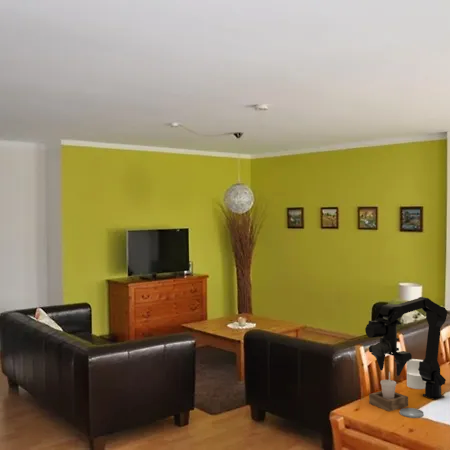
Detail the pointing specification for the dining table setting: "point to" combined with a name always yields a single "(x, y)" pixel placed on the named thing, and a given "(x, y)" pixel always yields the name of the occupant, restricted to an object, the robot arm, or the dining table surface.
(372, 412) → the dining table surface
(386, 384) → the smoothie
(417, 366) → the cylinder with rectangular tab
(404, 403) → the holder
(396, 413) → the dining table surface
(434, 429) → the dining table surface
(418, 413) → the coaster
